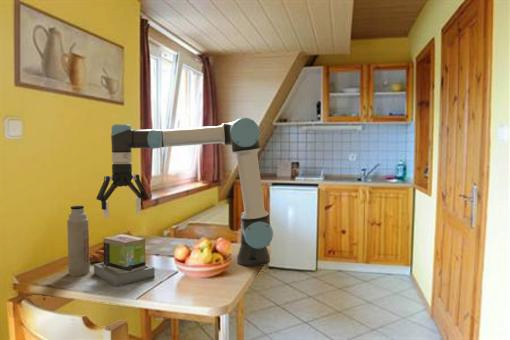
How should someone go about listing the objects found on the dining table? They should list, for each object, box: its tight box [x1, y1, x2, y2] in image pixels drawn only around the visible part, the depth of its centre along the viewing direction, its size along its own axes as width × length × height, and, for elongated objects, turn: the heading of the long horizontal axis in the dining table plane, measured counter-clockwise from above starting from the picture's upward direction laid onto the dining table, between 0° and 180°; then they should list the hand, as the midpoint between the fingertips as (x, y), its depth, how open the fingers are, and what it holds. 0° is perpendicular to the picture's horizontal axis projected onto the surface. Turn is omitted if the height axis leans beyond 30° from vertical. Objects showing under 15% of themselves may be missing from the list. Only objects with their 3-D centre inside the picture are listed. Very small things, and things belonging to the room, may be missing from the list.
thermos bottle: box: [66, 205, 91, 277], centre depth 164 cm, size 8×8×28 cm
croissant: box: [89, 245, 104, 263], centre depth 185 cm, size 21×10×8 cm, turn 142°
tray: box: [93, 262, 156, 288], centre depth 161 cm, size 21×16×4 cm
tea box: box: [103, 233, 147, 275], centre depth 161 cm, size 15×10×15 cm, turn 54°
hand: (122, 215), depth 160 cm, fingers open, 13 cm apart
